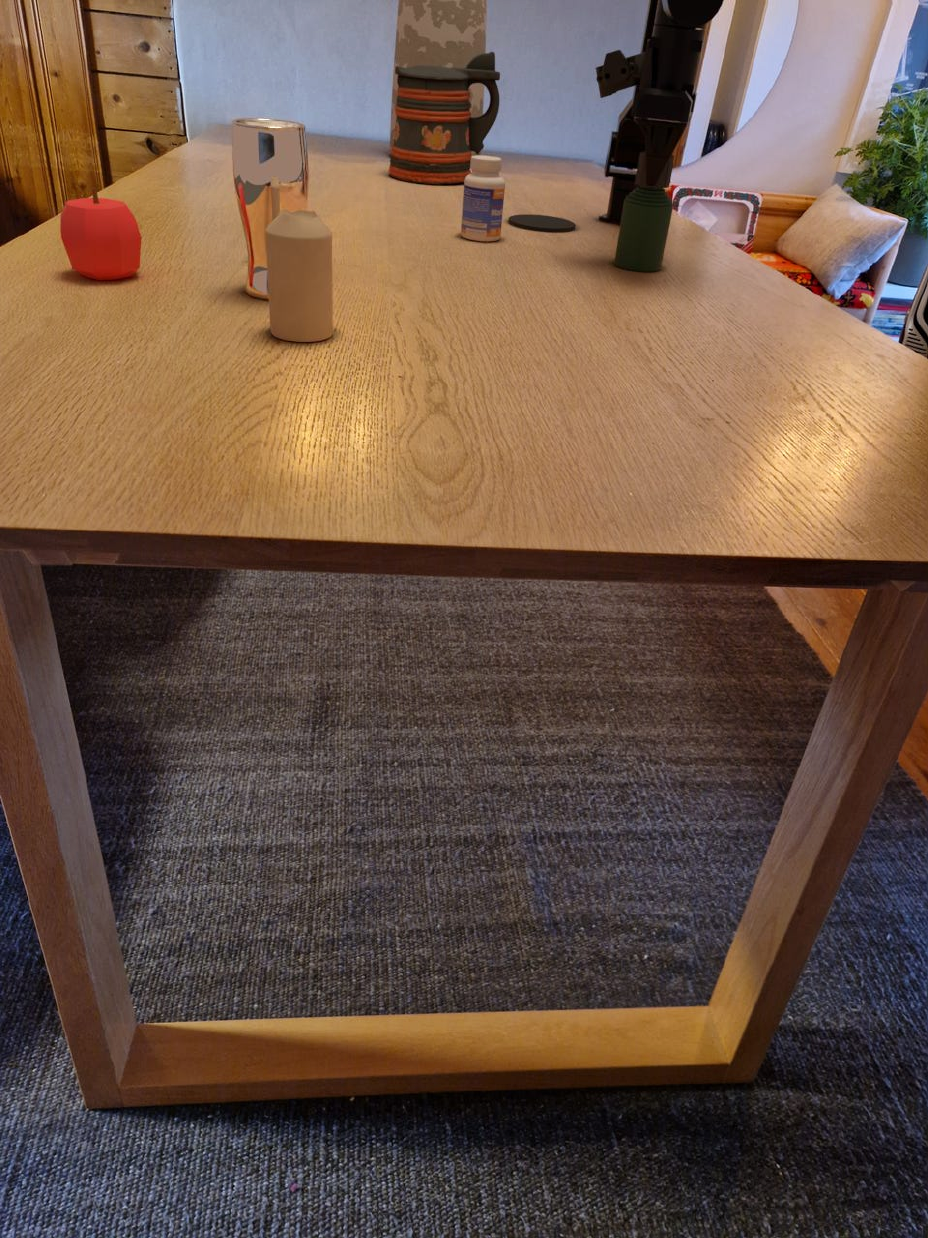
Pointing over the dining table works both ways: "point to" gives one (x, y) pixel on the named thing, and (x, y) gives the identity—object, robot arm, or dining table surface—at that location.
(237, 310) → the dining table surface
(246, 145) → the beer glass
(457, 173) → the beer stein
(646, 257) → the bottle
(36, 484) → the dining table surface
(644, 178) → the cap
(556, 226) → the coaster
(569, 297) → the dining table surface
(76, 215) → the apple
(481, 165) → the pill bottle
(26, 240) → the dining table surface
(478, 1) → the vase
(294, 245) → the candle
